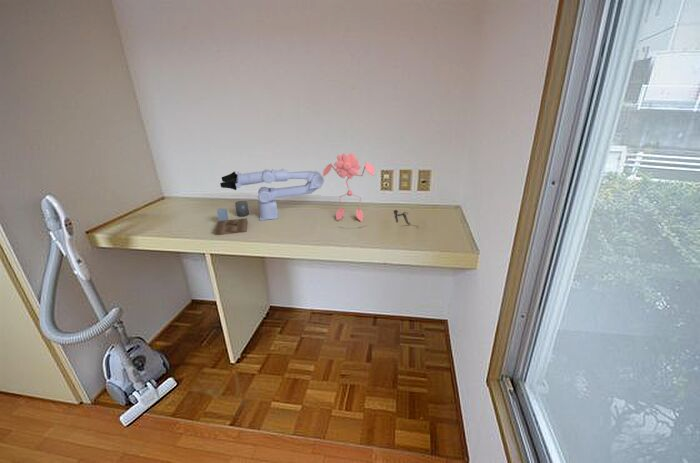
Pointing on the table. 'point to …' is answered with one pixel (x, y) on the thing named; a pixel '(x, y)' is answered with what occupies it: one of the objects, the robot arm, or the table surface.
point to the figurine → (348, 168)
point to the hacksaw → (404, 217)
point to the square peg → (222, 214)
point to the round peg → (242, 208)
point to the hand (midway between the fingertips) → (221, 182)
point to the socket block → (231, 226)
